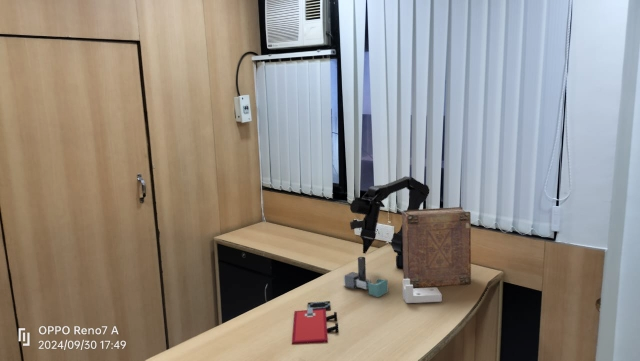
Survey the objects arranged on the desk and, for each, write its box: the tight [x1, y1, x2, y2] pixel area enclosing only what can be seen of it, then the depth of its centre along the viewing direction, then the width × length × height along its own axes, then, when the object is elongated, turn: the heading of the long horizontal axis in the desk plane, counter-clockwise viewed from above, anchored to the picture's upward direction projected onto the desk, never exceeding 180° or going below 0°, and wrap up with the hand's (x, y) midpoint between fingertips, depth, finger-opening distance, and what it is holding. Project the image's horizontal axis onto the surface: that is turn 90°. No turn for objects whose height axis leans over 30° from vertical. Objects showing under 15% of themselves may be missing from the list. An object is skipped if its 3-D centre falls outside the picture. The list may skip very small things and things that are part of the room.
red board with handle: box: [291, 300, 340, 345], centre depth 163 cm, size 30×3×15 cm
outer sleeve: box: [344, 271, 359, 290], centre depth 193 cm, size 4×5×5 cm
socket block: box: [368, 278, 389, 298], centre depth 185 cm, size 4×6×5 cm
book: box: [401, 206, 472, 289], centre depth 191 cm, size 25×9×30 cm, turn 94°
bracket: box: [402, 278, 443, 304], centre depth 176 cm, size 13×7×8 cm, turn 90°
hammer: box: [343, 256, 372, 290], centre depth 191 cm, size 12×3×12 cm, turn 48°
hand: (364, 251), depth 201 cm, fingers open, 9 cm apart
